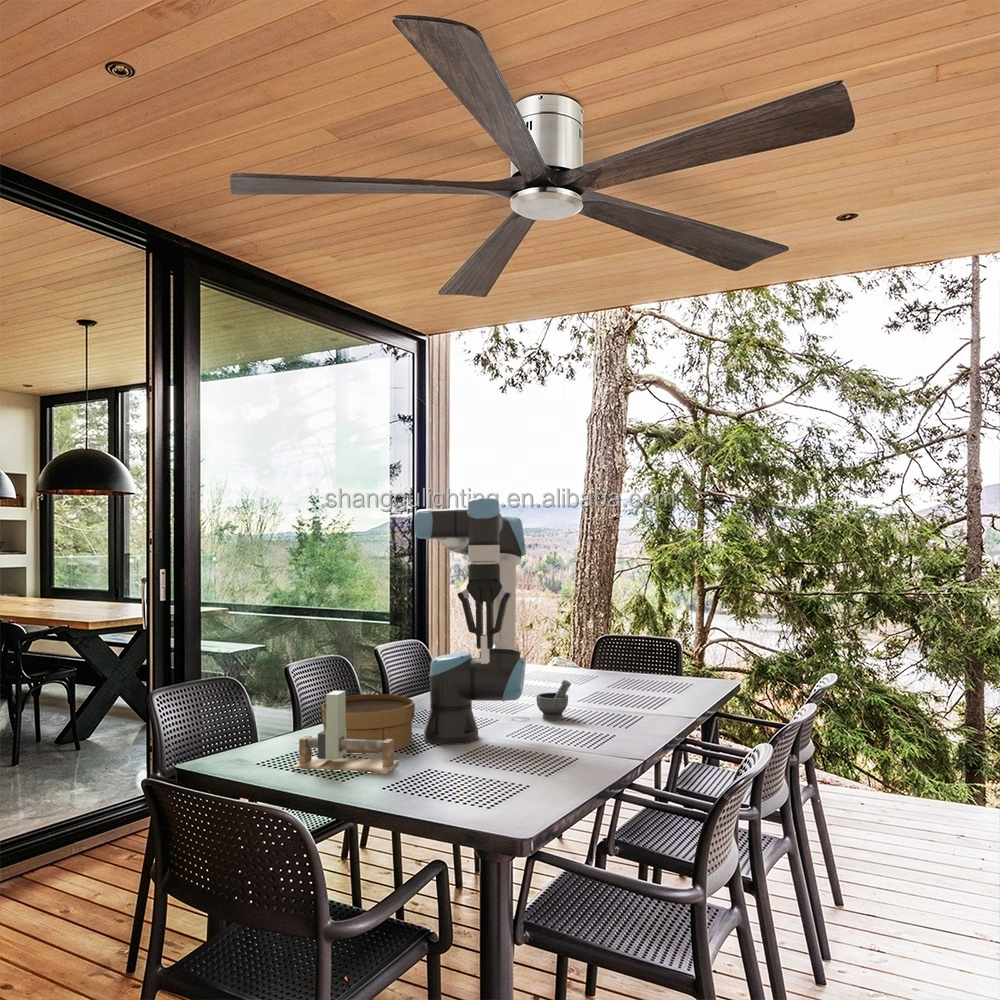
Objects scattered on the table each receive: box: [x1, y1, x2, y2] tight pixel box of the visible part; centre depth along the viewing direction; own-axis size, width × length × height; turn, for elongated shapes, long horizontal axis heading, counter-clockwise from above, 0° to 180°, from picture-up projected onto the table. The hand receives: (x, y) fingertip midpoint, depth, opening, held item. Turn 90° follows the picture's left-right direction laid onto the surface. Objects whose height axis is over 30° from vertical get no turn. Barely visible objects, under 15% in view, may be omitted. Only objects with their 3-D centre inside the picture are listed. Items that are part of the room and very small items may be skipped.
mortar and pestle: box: [536, 679, 572, 721], centre depth 247 cm, size 11×9×12 cm
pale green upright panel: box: [325, 690, 347, 760], centre depth 197 cm, size 3×6×16 cm, turn 169°
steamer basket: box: [321, 693, 416, 755], centre depth 220 cm, size 25×25×11 cm
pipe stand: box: [292, 735, 400, 775], centre depth 197 cm, size 24×9×7 cm, turn 79°
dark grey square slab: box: [317, 729, 326, 759], centre depth 198 cm, size 2×6×6 cm, turn 169°
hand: (485, 662), depth 189 cm, fingers closed
